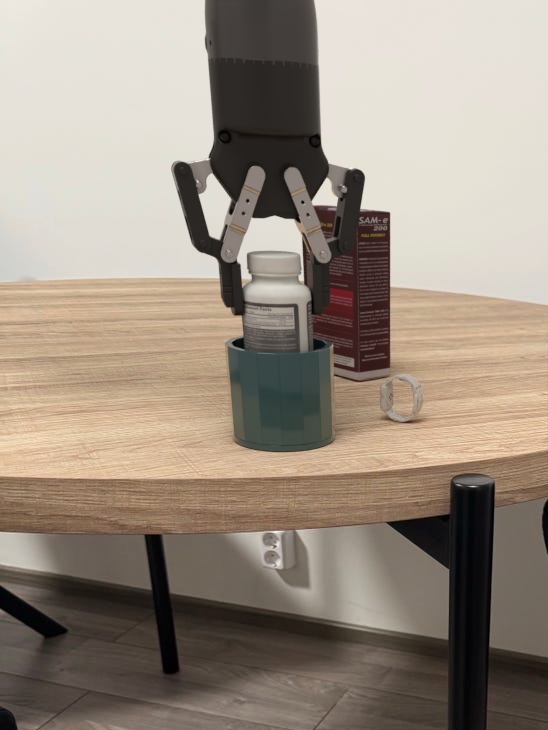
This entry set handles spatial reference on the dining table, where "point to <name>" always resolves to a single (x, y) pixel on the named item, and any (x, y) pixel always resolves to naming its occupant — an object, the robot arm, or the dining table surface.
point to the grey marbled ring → (387, 395)
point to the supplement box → (357, 297)
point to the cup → (281, 396)
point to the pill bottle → (276, 304)
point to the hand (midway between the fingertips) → (277, 312)
